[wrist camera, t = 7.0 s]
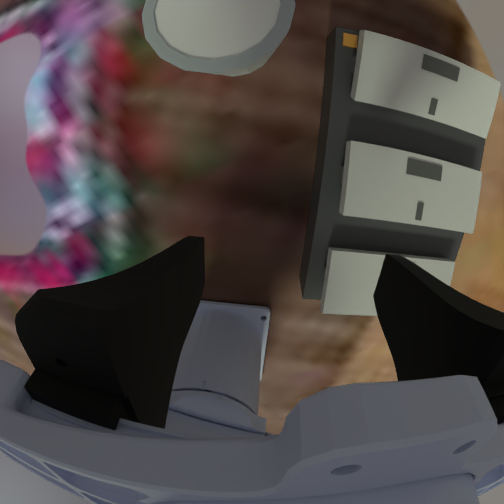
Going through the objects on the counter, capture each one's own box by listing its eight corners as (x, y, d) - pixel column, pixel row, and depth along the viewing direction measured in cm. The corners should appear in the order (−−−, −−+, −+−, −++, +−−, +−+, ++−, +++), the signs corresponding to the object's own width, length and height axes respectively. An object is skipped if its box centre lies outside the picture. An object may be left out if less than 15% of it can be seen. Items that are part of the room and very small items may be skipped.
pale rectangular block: (435, 311, 19) (442, 316, 18) (319, 307, 19) (322, 313, 18) (447, 258, 18) (455, 262, 17) (328, 247, 18) (332, 250, 17)
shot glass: (309, 40, 15) (329, 7, 9) (232, 106, 18) (212, 105, 12) (235, -22, 13) (219, -71, 7) (161, 43, 16) (113, 21, 10)
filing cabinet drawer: (464, 230, 16) (473, 234, 15) (338, 212, 16) (343, 215, 15) (473, 170, 15) (482, 172, 14) (346, 141, 15) (351, 140, 14)
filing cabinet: (425, 284, 23) (441, 308, 20) (299, 275, 23) (303, 302, 20) (469, 80, 15) (496, 80, 12) (327, 38, 15) (338, 24, 12)
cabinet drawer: (478, 133, 14) (486, 139, 13) (350, 96, 14) (355, 101, 13) (491, 78, 11) (501, 83, 10) (359, 30, 11) (365, 30, 11)
